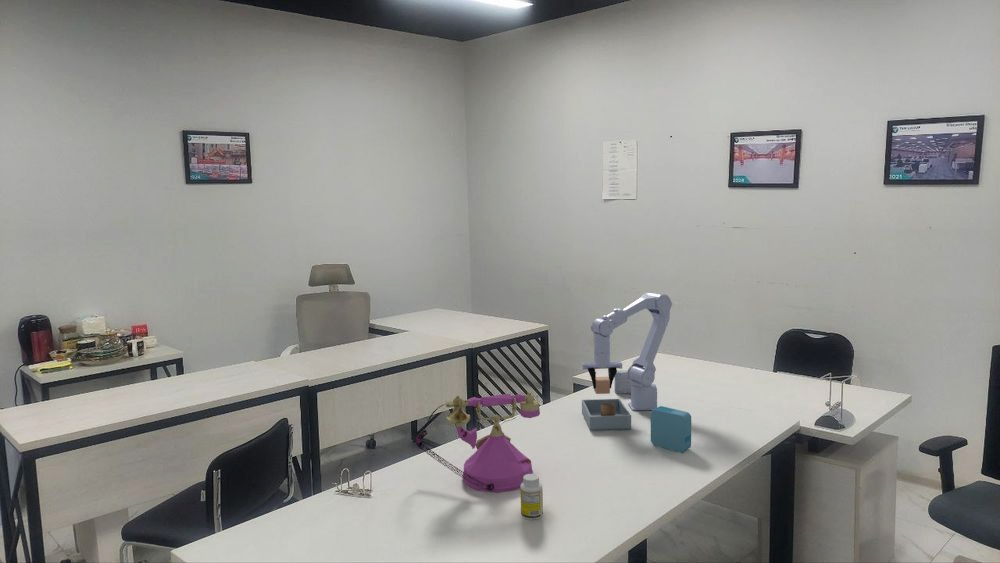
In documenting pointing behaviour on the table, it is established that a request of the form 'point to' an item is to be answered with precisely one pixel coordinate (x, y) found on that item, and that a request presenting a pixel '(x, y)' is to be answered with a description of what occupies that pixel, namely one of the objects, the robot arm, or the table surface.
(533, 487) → the supplement bottle
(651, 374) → the robot arm
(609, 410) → the walnut cylinder
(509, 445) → the telephone
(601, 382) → the terracotta cube
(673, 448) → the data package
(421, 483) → the table surface
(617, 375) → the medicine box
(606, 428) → the tote
